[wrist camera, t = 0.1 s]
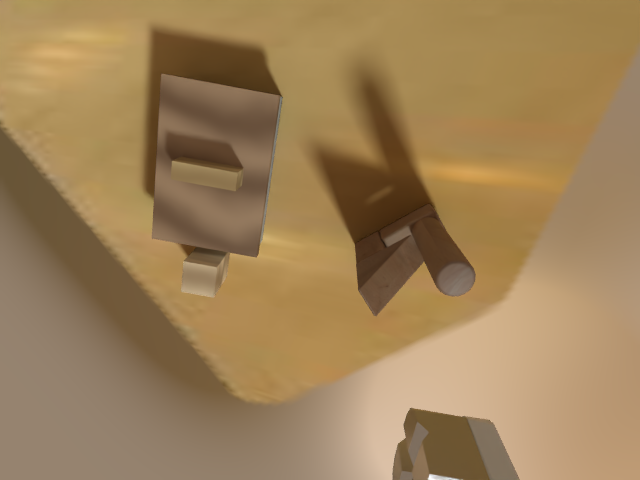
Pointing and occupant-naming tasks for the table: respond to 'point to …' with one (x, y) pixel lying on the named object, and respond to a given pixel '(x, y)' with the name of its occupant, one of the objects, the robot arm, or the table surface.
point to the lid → (213, 164)
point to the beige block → (204, 271)
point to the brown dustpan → (410, 258)
